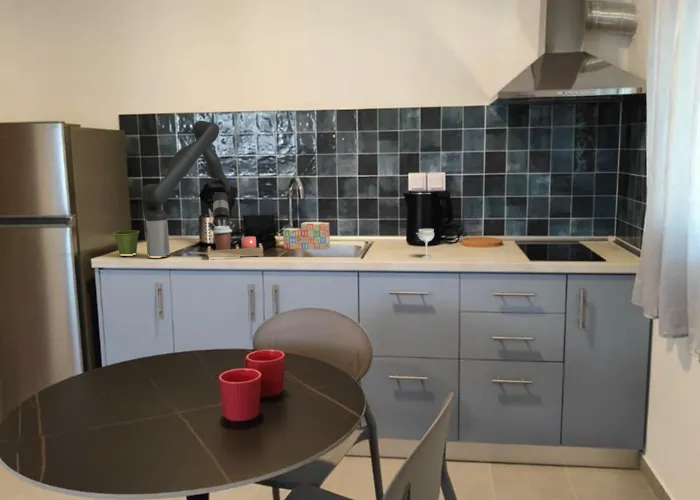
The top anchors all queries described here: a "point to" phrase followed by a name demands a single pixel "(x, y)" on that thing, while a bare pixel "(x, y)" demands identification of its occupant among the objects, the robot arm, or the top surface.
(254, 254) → the oak rack
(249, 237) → the red rounded block
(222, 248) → the coffee cup
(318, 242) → the stack of blocks
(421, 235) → the wineglass
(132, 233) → the plant pot
